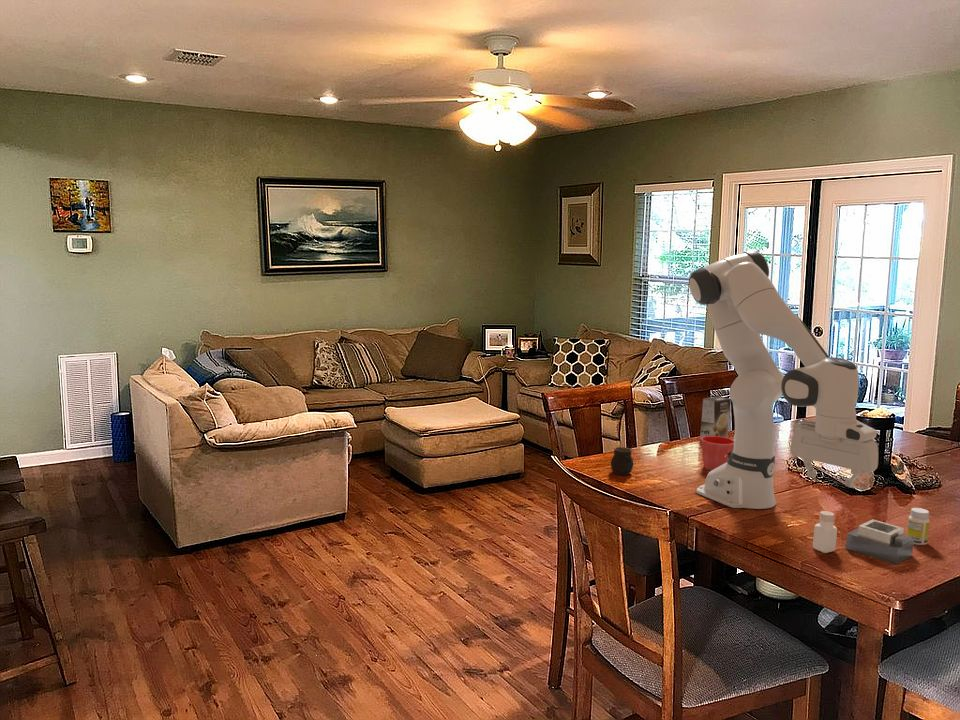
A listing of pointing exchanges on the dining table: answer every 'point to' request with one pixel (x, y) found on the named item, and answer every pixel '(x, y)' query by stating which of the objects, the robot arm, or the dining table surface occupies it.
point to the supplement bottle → (918, 526)
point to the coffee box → (715, 417)
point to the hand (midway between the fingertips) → (830, 481)
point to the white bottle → (825, 533)
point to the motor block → (880, 541)
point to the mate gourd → (622, 461)
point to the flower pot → (715, 451)
